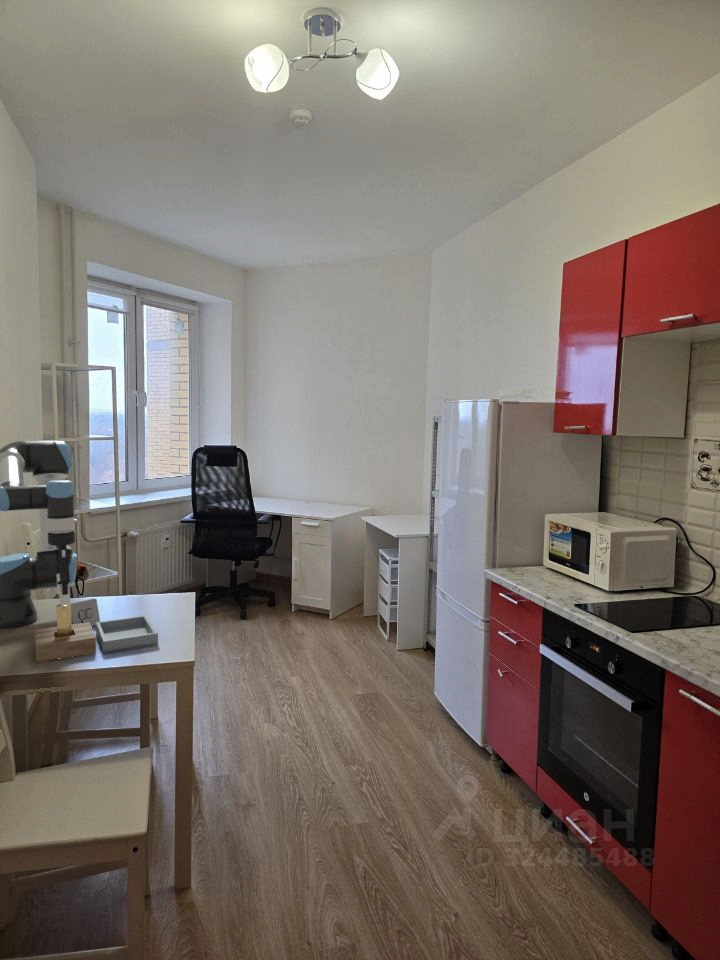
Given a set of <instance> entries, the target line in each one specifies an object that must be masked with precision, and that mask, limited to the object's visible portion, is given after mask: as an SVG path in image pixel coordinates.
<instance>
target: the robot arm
mask: <svg viewBox="0 0 720 960" xmlns="http://www.w3.org/2000/svg"><path fill="white" fill-rule="evenodd" d="M70 451H71V450H70V447H69V445H68V443H67V442H65V441H63V440H54V439H53V440H52V439H51V440H16V441H14V442H10V443H8V444H6V445H4V446H2V447H1V448H0V512H12V511H26V510H38V511H39V529H40V530H39V531H40V532H39V533H40V548H39V549H38V550H37V551H36V556H32V557H31V555H30V553H26V552H24V553H13V554H9V555H5V556H2V557H0V629H7V628H16V627H21V626H25V625H28V624H31V623H33V622H35V621H37V620H38V618H39V616H38V610H37V607H36V605H35V603H34V600H33V598H32V591H36V590H37V591H38V590H45V589H55V588H56V594H57V595H59V604H60V606H61V605H69V604H71V586H72V585H73V584H74V583H75V580H76V576H77V568H78V567H77V566H78V554H77V553H75V552H73V548H72V547H71V546H70V545H73V544H74V543H76V531H75V527H76V526H75V525H76V523H77V522H78V520H77V519H76V518H75V488H74V487H75V486H74V482H73V481H72V480H68V479H67V478H68V477H69V473H70V472H72V471H73V464H72V463H73V461H72V456H71V452H70ZM25 473H32V478H33V479H34V480H36V482H37V484H35V485H34V484H33V485H25V483H24V482H25V481H24V480H25V479H24V474H25ZM66 479H67V480H66Z"/></svg>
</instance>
